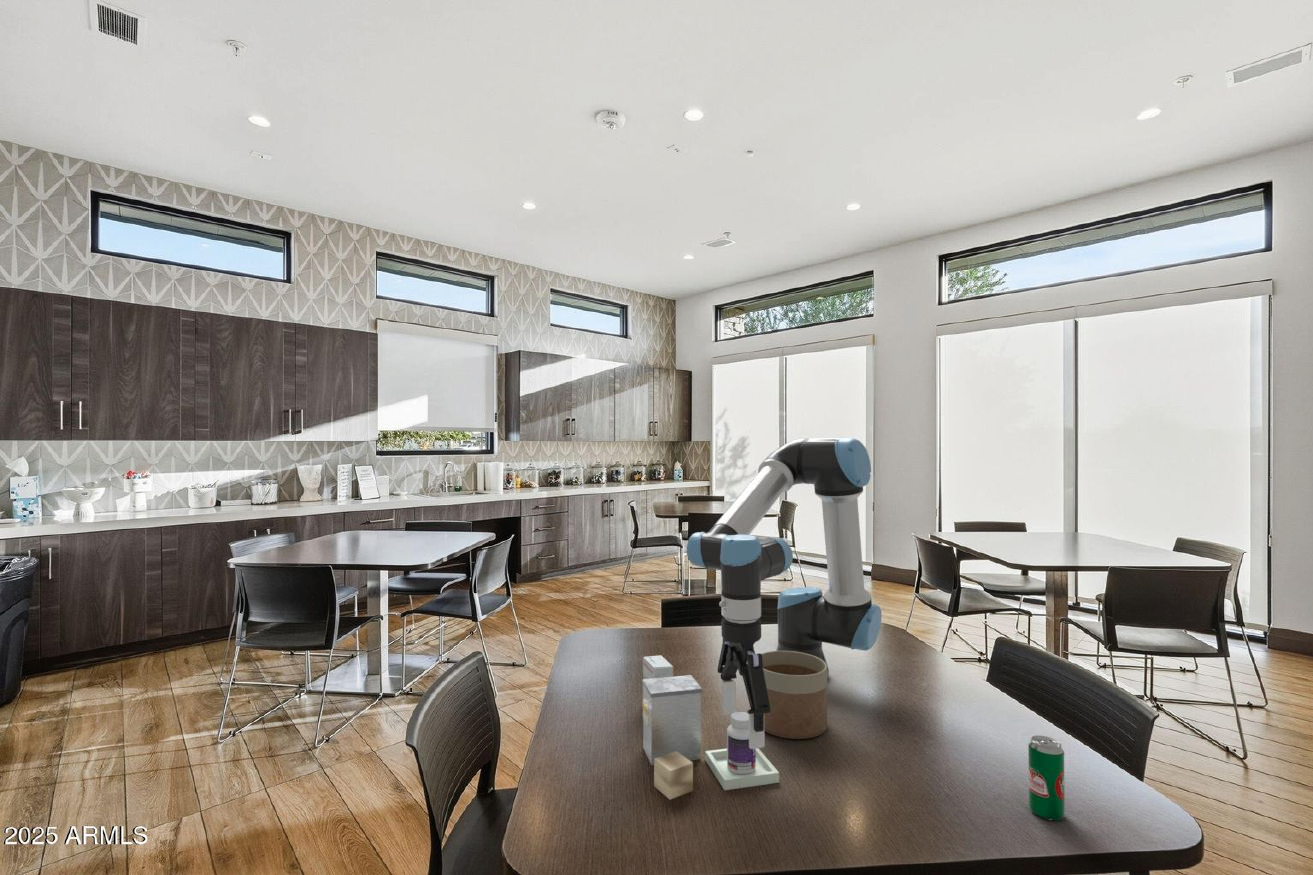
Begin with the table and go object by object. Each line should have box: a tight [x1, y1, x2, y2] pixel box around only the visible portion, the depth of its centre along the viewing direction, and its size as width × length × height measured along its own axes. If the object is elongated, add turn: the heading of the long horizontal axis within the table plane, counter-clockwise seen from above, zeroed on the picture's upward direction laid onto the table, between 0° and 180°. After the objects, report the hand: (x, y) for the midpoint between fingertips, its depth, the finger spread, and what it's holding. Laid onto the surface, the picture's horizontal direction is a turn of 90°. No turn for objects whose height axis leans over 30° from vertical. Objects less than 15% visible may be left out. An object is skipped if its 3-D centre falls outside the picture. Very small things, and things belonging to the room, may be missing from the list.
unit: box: [641, 674, 703, 766], centre depth 120 cm, size 11×7×14 cm
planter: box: [761, 650, 828, 740], centre depth 133 cm, size 16×16×14 cm
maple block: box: [653, 751, 694, 800], centre depth 107 cm, size 5×5×5 cm
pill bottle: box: [726, 711, 756, 774], centre depth 113 cm, size 5×5×10 cm
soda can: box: [1027, 735, 1066, 821], centre depth 101 cm, size 5×5×12 cm
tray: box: [704, 748, 780, 791], centre depth 113 cm, size 11×11×2 cm
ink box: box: [642, 654, 674, 700], centre depth 139 cm, size 9×5×12 cm, turn 20°
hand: (742, 729), depth 114 cm, fingers open, 13 cm apart
